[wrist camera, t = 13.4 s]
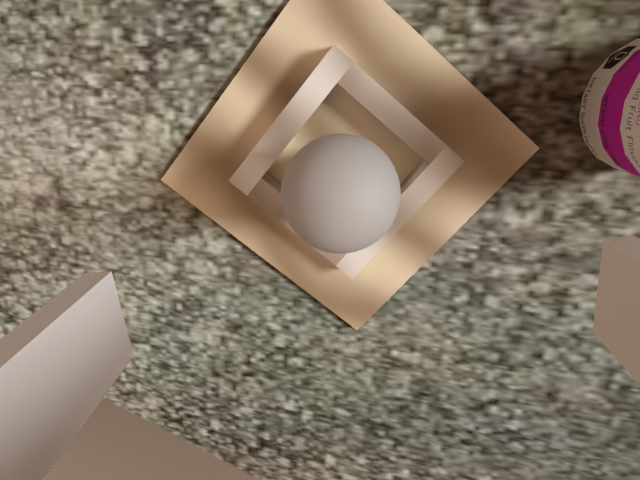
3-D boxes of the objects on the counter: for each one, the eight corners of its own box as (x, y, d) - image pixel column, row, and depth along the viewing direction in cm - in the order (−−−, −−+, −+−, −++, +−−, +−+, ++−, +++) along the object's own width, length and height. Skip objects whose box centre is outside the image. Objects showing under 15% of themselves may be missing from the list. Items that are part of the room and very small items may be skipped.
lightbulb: (407, 171, 32) (434, 220, 21) (336, 225, 33) (330, 296, 23) (349, 98, 30) (348, 113, 20) (279, 158, 32) (244, 202, 22)
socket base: (327, -50, 28) (325, -62, 26) (536, 146, 31) (553, 153, 29) (163, 178, 33) (148, 187, 31) (356, 326, 37) (357, 346, 34)
